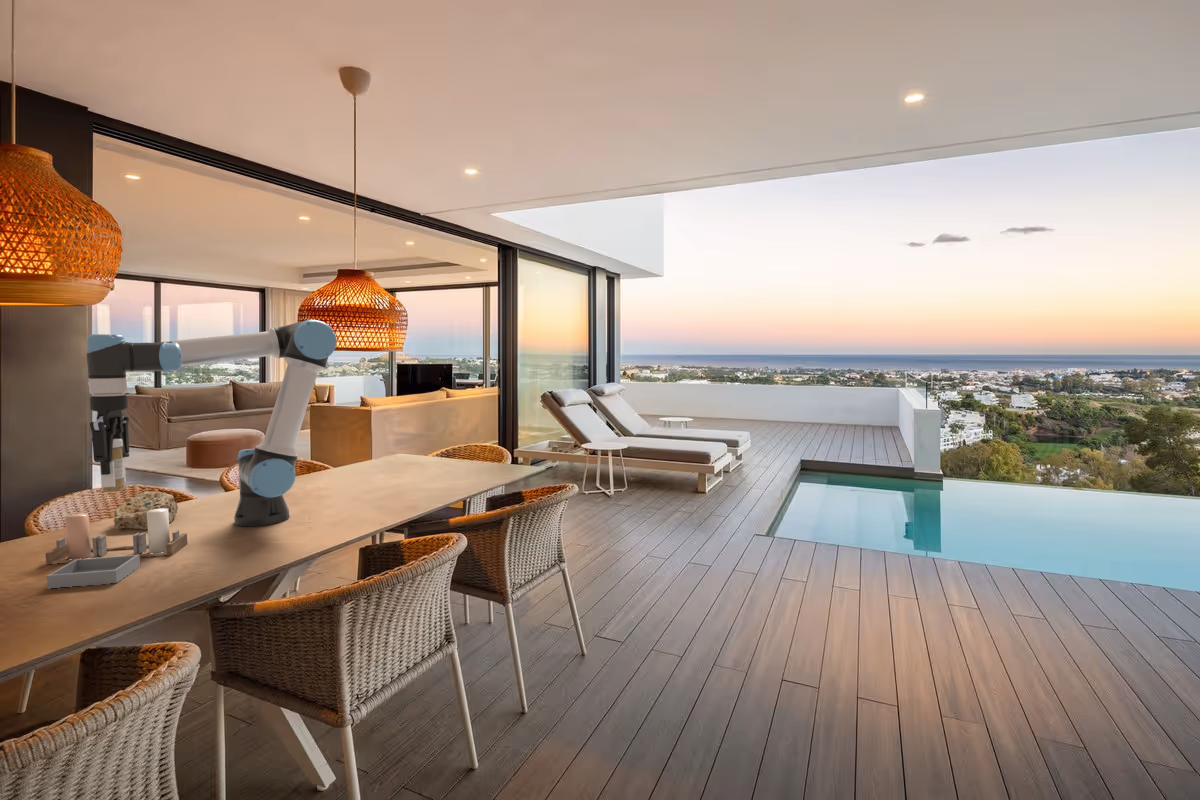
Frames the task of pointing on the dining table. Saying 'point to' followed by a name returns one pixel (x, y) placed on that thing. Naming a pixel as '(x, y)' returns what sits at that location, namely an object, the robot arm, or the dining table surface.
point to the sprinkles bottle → (117, 467)
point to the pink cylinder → (78, 535)
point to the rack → (101, 547)
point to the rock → (143, 509)
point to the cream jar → (158, 530)
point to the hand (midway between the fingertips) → (114, 484)
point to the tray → (93, 571)
